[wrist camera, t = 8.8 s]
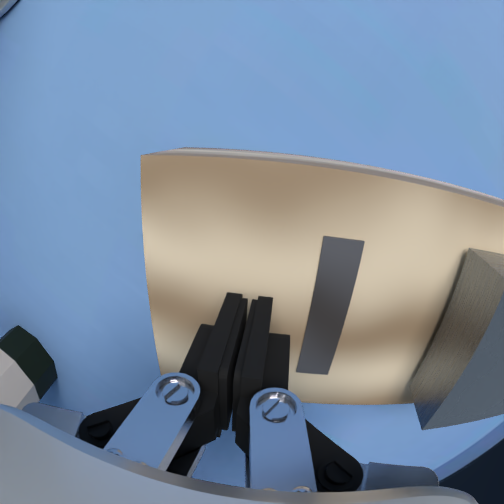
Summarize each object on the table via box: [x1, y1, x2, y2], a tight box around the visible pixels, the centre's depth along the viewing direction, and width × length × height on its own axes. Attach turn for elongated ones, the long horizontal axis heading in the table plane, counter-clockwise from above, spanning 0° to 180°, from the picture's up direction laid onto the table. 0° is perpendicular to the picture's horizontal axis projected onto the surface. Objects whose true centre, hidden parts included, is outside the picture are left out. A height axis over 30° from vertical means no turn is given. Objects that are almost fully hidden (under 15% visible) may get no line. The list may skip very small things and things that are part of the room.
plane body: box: [141, 148, 504, 405], centre depth 12 cm, size 12×26×8 cm, turn 86°
